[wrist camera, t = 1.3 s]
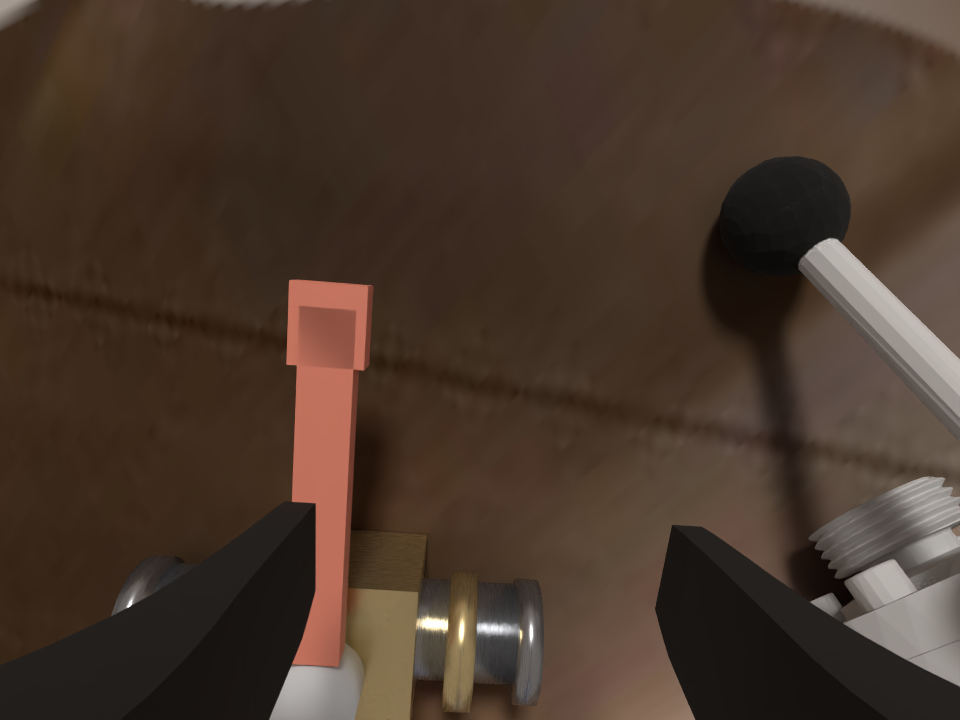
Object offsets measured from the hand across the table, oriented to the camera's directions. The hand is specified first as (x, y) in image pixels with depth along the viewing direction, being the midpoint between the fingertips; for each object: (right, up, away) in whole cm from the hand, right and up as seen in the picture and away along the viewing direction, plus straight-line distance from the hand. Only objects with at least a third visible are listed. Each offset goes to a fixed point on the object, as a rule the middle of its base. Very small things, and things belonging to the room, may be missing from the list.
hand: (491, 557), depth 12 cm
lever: (-5, -1, +7) cm, 9 cm away
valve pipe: (-6, -6, +13) cm, 15 cm away
